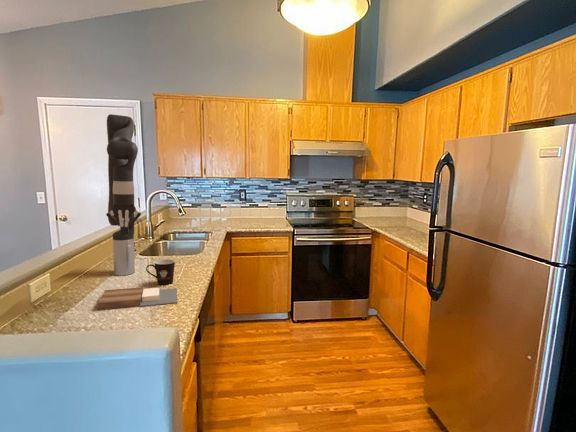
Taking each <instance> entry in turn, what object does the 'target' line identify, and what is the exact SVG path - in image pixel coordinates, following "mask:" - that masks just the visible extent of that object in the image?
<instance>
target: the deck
mask: <svg viewBox="0 0 576 432" xmlns="http://www.w3.org/2000/svg"><path fill="white" fill-rule="evenodd" d="M143 289H144V287H143V286H141V287H129V288H117V289H116V288H114V289H105V290H104V291H103V293H102V294H101V296H100V298H99V299H98V302H97V304H96V305H97V311H102V310H112V309H113V310H114V309H123V308H132V307H133V308H134V307H135V308H136V307H140V304H141V300H142V294H143Z"/></svg>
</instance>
